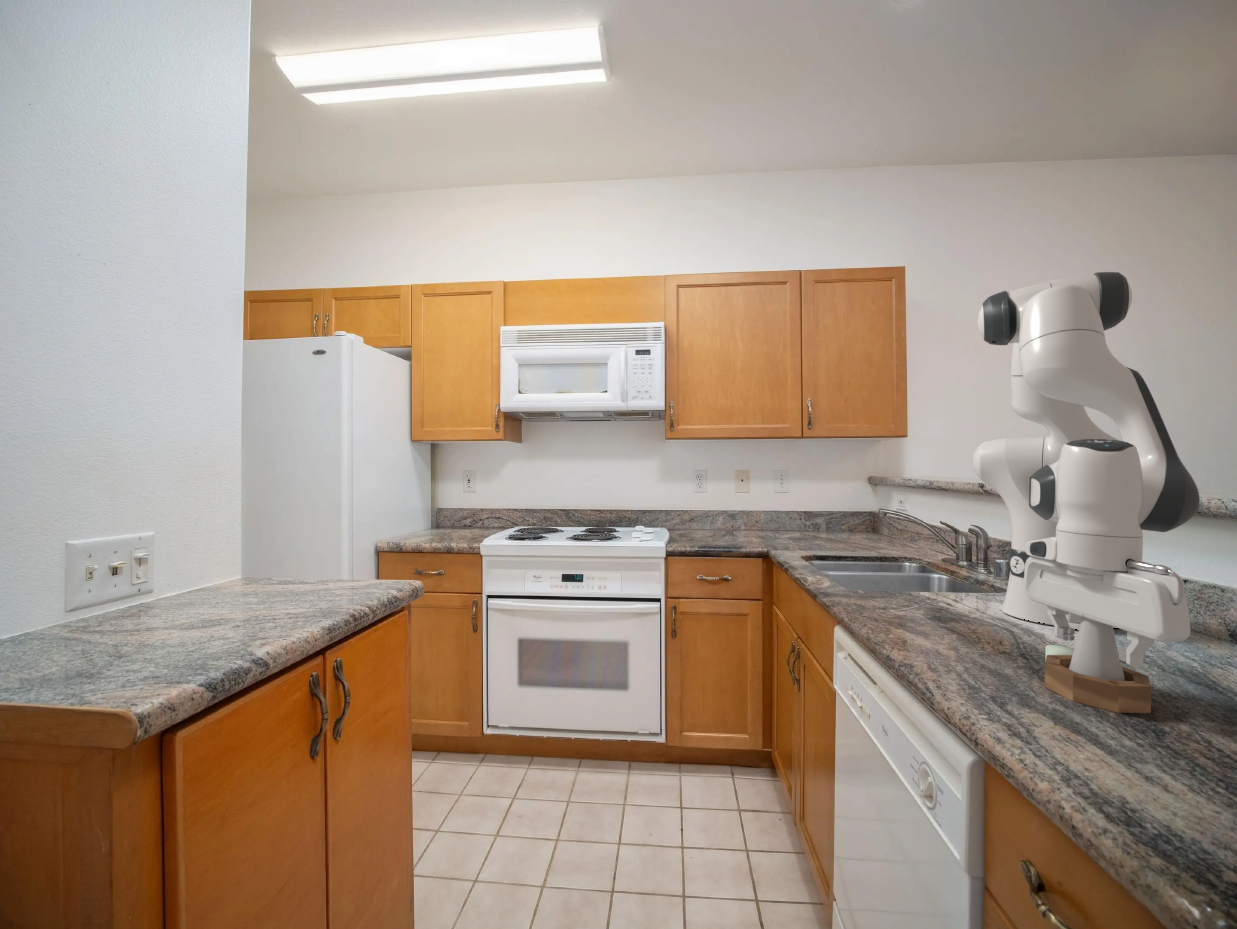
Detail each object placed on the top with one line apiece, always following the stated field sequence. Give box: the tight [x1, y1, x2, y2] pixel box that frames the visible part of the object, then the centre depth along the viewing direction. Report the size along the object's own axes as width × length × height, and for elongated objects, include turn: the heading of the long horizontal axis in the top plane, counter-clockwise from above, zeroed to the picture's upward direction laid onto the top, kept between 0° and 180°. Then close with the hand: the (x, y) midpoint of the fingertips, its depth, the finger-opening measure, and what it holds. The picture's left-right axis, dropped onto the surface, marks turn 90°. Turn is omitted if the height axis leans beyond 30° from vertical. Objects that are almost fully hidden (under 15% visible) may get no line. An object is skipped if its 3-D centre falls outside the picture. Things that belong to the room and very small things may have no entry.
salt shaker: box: [1069, 610, 1125, 681], centre depth 70 cm, size 6×6×13 cm
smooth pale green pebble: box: [1044, 644, 1074, 661], centre depth 79 cm, size 4×4×3 cm
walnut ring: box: [1044, 655, 1152, 714], centre depth 70 cm, size 10×10×4 cm
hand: (1095, 651), depth 70 cm, fingers open, 8 cm apart
